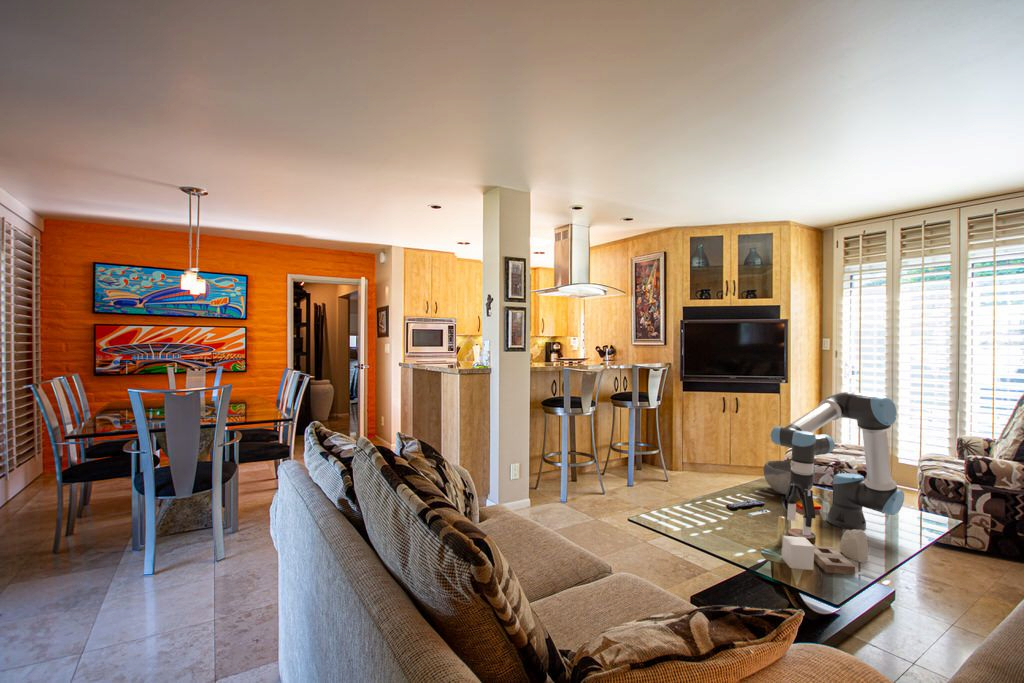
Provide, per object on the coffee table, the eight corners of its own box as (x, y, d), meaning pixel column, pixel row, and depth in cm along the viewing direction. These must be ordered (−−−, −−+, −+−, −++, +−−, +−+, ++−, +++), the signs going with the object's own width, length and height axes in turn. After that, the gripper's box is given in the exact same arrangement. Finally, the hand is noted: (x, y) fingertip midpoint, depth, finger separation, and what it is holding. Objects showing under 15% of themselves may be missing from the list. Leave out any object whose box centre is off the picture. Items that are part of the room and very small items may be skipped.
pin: (782, 544, 209) (784, 516, 208) (785, 547, 206) (786, 518, 206) (776, 543, 209) (777, 515, 209) (778, 546, 207) (779, 518, 206)
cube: (803, 559, 195) (804, 537, 195) (813, 570, 187) (814, 546, 187) (781, 558, 196) (783, 535, 196) (790, 568, 188) (791, 544, 188)
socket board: (806, 552, 202) (806, 545, 202) (833, 554, 200) (833, 547, 200) (825, 572, 186) (826, 564, 186) (854, 574, 185) (855, 566, 184)
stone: (837, 552, 202) (838, 524, 202) (846, 551, 204) (848, 523, 204) (862, 564, 193) (863, 535, 192) (871, 562, 194) (873, 533, 194)
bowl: (771, 498, 263) (772, 470, 262) (756, 483, 287) (757, 458, 286) (821, 502, 259) (823, 474, 258) (802, 487, 283) (804, 461, 282)
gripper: (778, 462, 203) (775, 513, 204) (806, 481, 178) (802, 540, 179) (798, 463, 202) (795, 515, 203) (828, 483, 177) (825, 542, 178)
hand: (798, 527), depth 191 cm, fingers open, 13 cm apart
